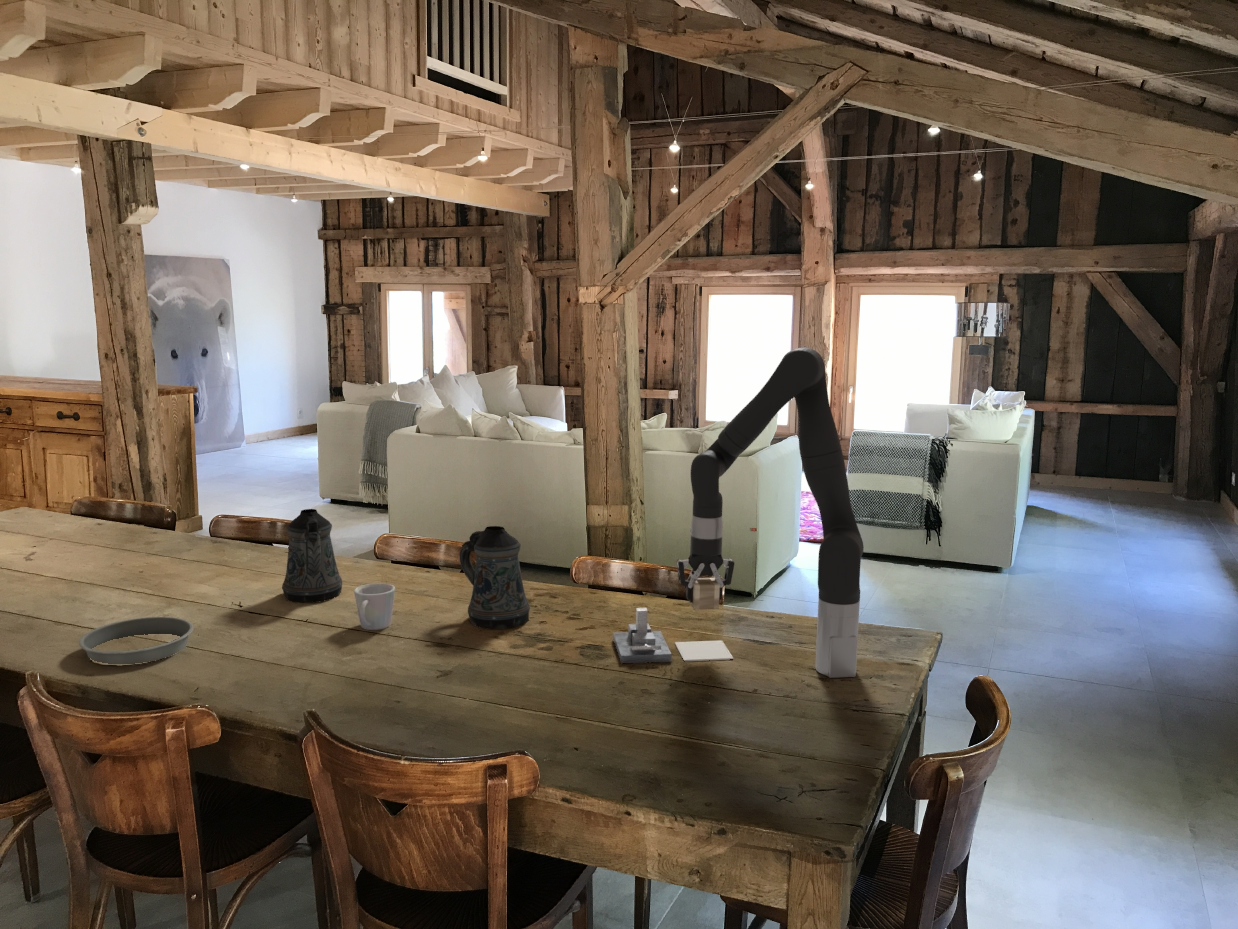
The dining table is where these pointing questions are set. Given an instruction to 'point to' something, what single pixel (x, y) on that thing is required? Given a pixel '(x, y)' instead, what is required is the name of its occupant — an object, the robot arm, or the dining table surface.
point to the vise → (641, 642)
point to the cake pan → (137, 628)
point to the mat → (703, 650)
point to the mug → (375, 605)
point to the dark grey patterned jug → (311, 560)
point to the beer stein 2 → (495, 580)
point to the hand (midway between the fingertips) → (704, 601)
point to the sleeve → (705, 594)
